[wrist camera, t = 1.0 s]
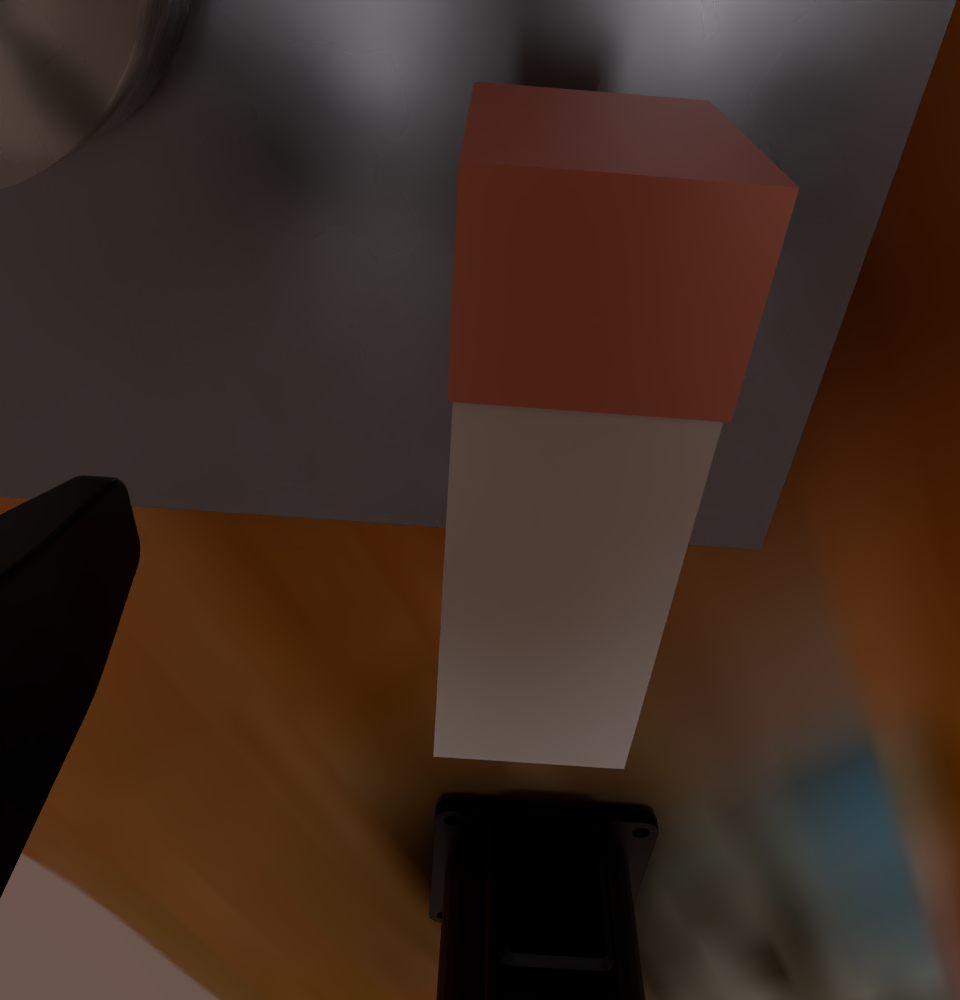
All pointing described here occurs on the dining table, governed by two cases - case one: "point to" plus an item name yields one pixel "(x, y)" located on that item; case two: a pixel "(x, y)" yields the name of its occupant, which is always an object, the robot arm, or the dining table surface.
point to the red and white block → (587, 400)
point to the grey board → (374, 228)
